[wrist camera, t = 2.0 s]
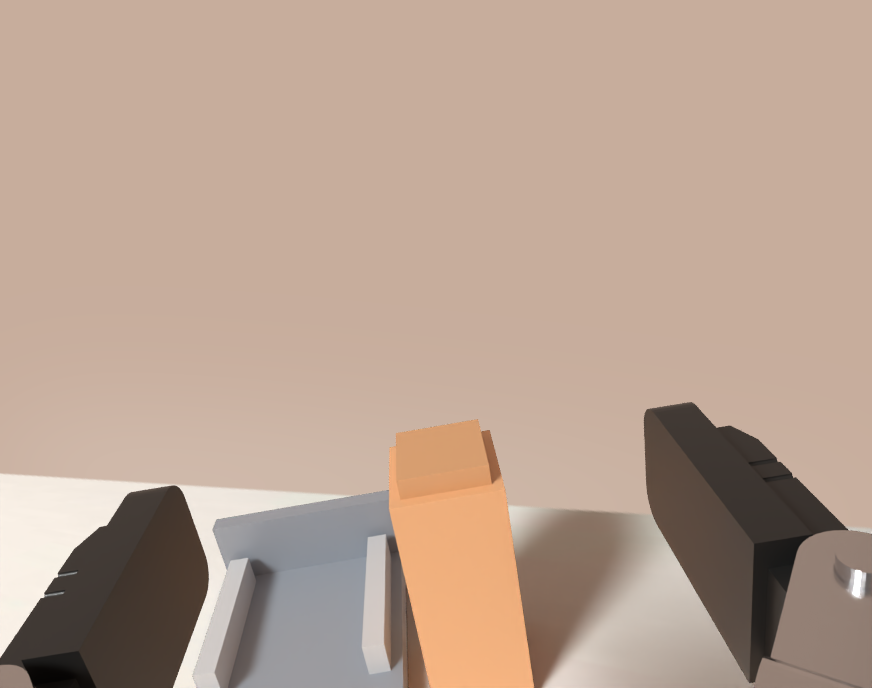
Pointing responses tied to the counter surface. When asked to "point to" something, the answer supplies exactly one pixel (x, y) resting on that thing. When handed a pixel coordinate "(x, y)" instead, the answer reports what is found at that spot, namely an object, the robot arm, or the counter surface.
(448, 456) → the block
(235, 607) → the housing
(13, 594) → the counter surface
